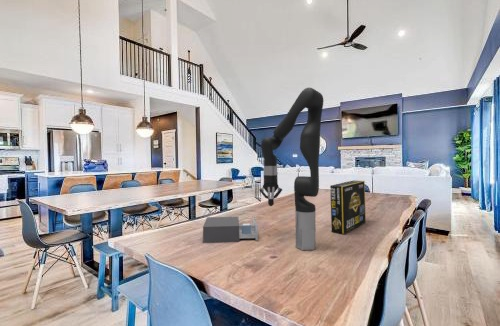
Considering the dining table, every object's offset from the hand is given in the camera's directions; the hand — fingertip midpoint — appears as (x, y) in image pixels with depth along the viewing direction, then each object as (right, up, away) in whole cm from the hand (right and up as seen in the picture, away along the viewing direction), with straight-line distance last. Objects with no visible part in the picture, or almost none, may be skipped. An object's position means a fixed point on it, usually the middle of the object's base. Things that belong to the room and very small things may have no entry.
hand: (270, 205), depth 140 cm
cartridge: (-13, -14, -1) cm, 19 cm away
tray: (-17, -16, -1) cm, 23 cm away
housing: (-26, -16, -2) cm, 31 cm away
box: (+48, -15, +13) cm, 52 cm away
